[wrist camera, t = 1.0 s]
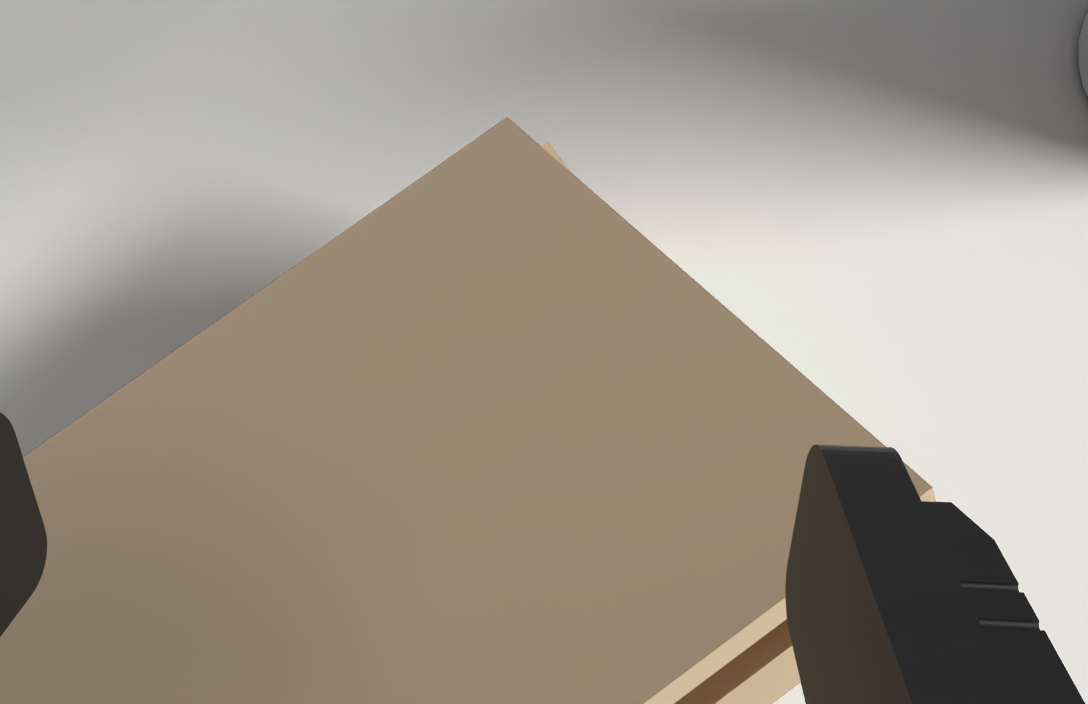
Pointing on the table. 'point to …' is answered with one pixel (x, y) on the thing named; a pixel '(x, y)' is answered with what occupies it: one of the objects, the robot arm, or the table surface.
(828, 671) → the robot arm
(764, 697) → the carton
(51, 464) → the lid flap
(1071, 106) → the table surface
